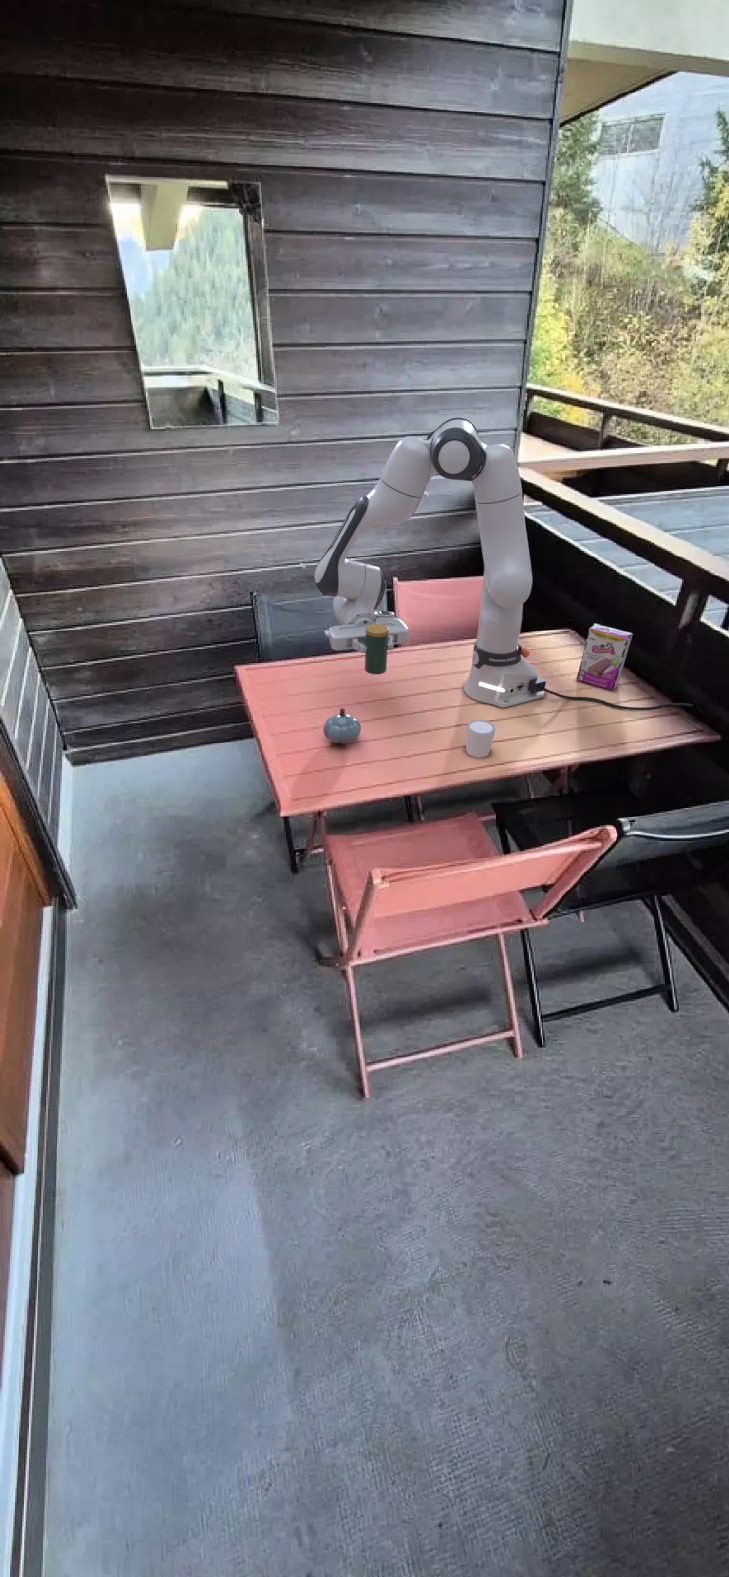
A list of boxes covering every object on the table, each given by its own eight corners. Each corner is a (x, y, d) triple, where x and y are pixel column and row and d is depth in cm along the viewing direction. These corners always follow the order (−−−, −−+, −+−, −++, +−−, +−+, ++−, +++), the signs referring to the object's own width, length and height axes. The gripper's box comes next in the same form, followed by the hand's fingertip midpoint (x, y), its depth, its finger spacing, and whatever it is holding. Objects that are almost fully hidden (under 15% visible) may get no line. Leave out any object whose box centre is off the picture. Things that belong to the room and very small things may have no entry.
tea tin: (382, 663, 178) (384, 622, 171) (389, 673, 174) (392, 632, 167) (361, 665, 176) (362, 624, 170) (368, 675, 172) (369, 634, 166)
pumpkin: (354, 728, 179) (355, 697, 174) (365, 747, 172) (366, 716, 166) (319, 732, 176) (318, 702, 171) (328, 753, 169) (328, 721, 164)
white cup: (490, 760, 169) (494, 736, 165) (462, 756, 170) (465, 732, 166) (492, 745, 174) (496, 721, 170) (464, 741, 175) (468, 717, 171)
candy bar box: (575, 681, 203) (588, 628, 194) (581, 674, 207) (593, 622, 197) (613, 692, 199) (628, 638, 189) (618, 685, 202) (633, 632, 192)
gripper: (322, 618, 177) (336, 641, 166) (398, 611, 182) (417, 633, 171) (322, 641, 181) (336, 665, 170) (397, 633, 186) (415, 656, 175)
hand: (377, 648), depth 171 cm, fingers closed on tea tin, 5 cm apart
